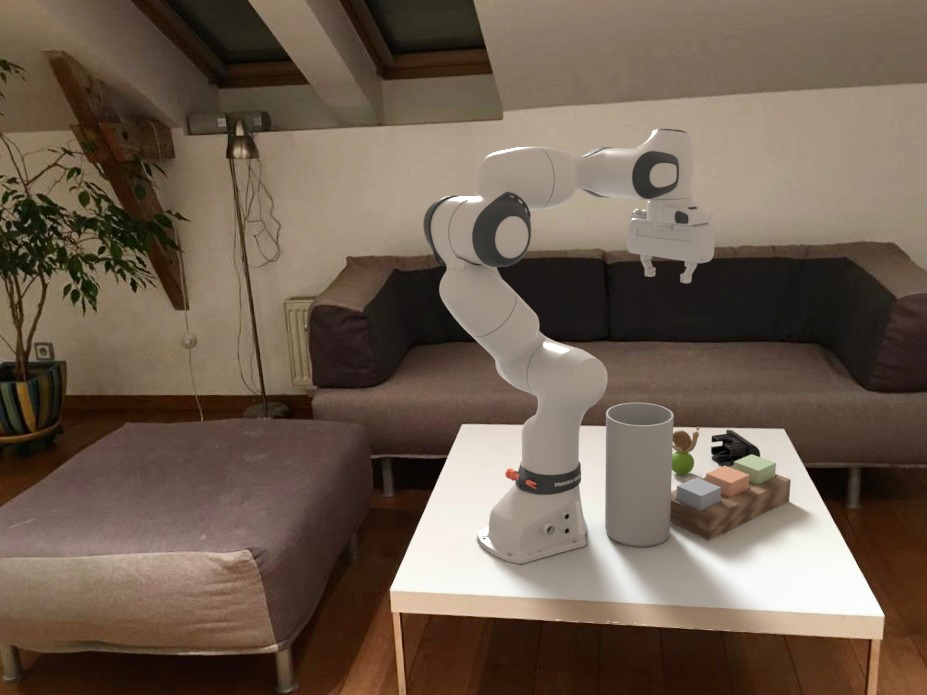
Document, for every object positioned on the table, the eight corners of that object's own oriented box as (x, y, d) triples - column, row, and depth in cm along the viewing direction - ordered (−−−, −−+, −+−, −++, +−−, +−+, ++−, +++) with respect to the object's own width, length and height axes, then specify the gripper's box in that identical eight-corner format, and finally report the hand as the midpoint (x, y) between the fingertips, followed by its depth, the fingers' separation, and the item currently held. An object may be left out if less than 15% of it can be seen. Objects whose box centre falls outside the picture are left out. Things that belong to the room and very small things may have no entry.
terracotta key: (729, 501, 167) (730, 483, 166) (705, 491, 171) (706, 473, 170) (748, 492, 170) (749, 474, 169) (724, 483, 175) (724, 465, 174)
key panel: (708, 540, 160) (709, 517, 159) (660, 518, 169) (661, 495, 168) (789, 501, 174) (790, 479, 173) (740, 482, 184) (742, 461, 182)
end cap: (759, 471, 189) (761, 443, 187) (731, 475, 188) (732, 447, 186) (736, 454, 198) (738, 428, 197) (709, 458, 197) (710, 431, 195)
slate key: (700, 514, 162) (701, 496, 161) (676, 504, 166) (676, 485, 165) (720, 505, 165) (721, 487, 164) (695, 495, 170) (696, 477, 169)
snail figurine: (692, 481, 185) (694, 431, 182) (665, 475, 189) (666, 425, 186) (701, 472, 189) (703, 423, 186) (674, 466, 193) (676, 418, 190)
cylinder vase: (624, 511, 173) (625, 398, 166) (680, 528, 165) (684, 410, 158) (593, 536, 163) (593, 417, 156) (651, 555, 156) (654, 430, 149)
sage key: (757, 488, 172) (758, 470, 171) (733, 479, 176) (733, 461, 175) (774, 480, 175) (776, 462, 174) (750, 471, 180) (751, 454, 179)
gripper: (620, 209, 173) (619, 274, 177) (699, 217, 157) (696, 288, 161) (641, 206, 177) (640, 270, 181) (720, 213, 161) (717, 283, 165)
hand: (667, 279), depth 171 cm, fingers open, 8 cm apart
